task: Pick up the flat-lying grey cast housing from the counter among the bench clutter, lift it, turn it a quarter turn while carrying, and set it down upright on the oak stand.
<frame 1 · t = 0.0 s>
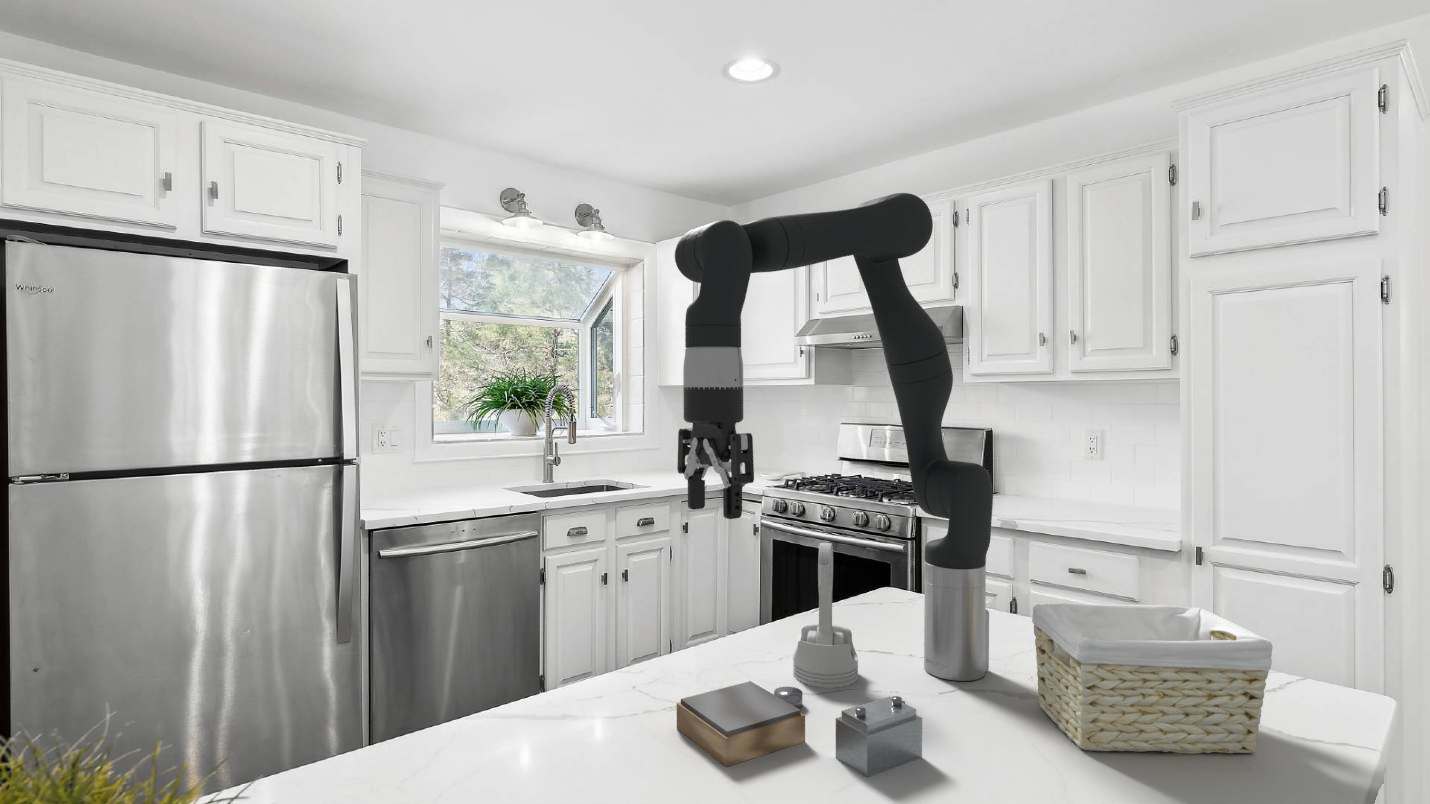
hand: (713, 513, 96), 29 cm above the countertop, tool pointing down, fingers open, 8 cm apart
storage basket: (1142, 732, 100), on the countertop
bar: (879, 721, 104), on the countertop
stand: (739, 735, 99), on the countertop
dark grey domed cap: (788, 706, 108), on the countertop
engine component: (825, 675, 120), on the countertop
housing: (878, 758, 93), on the countertop
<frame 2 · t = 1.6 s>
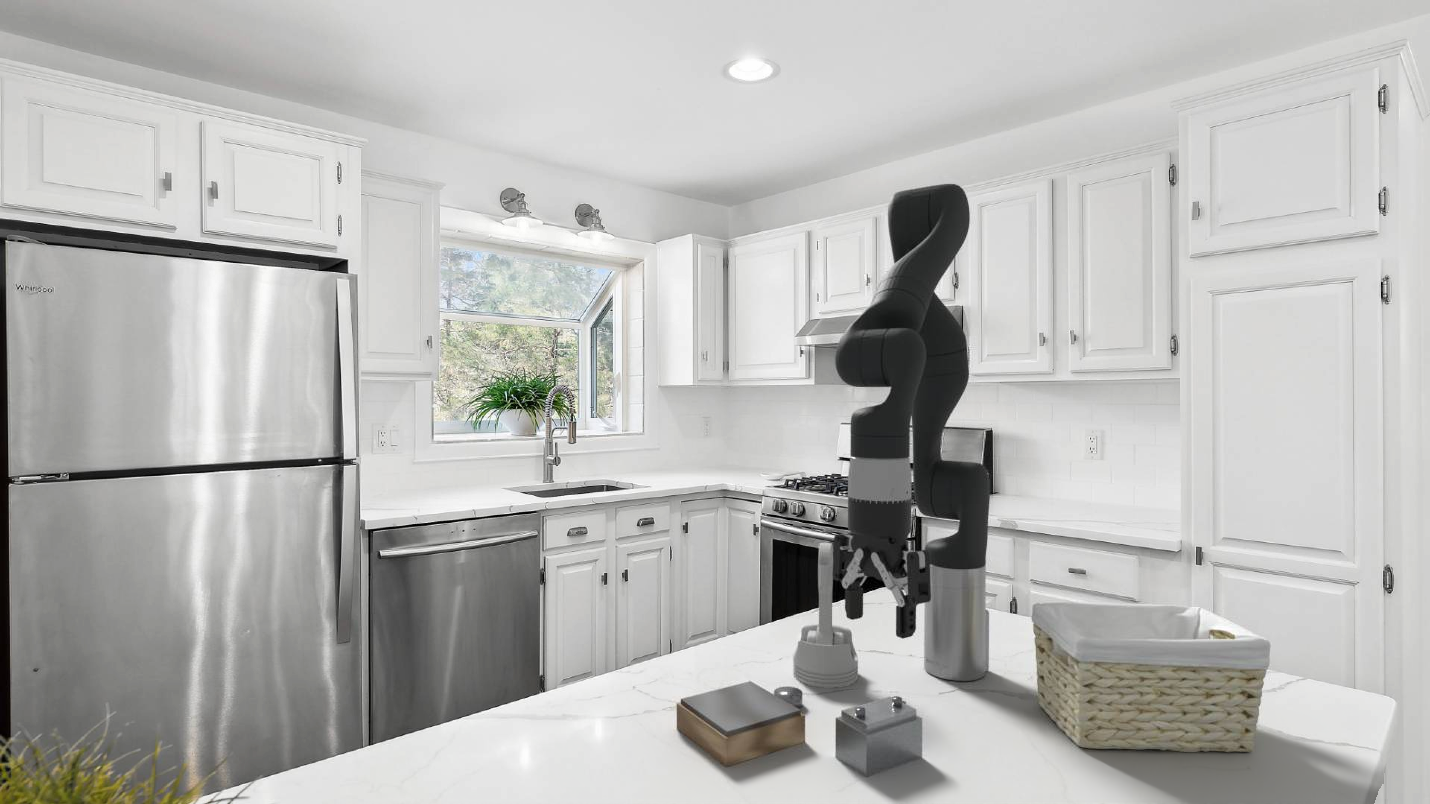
hand: (878, 627, 93), 16 cm above the countertop, tool pointing down, fingers open, 8 cm apart
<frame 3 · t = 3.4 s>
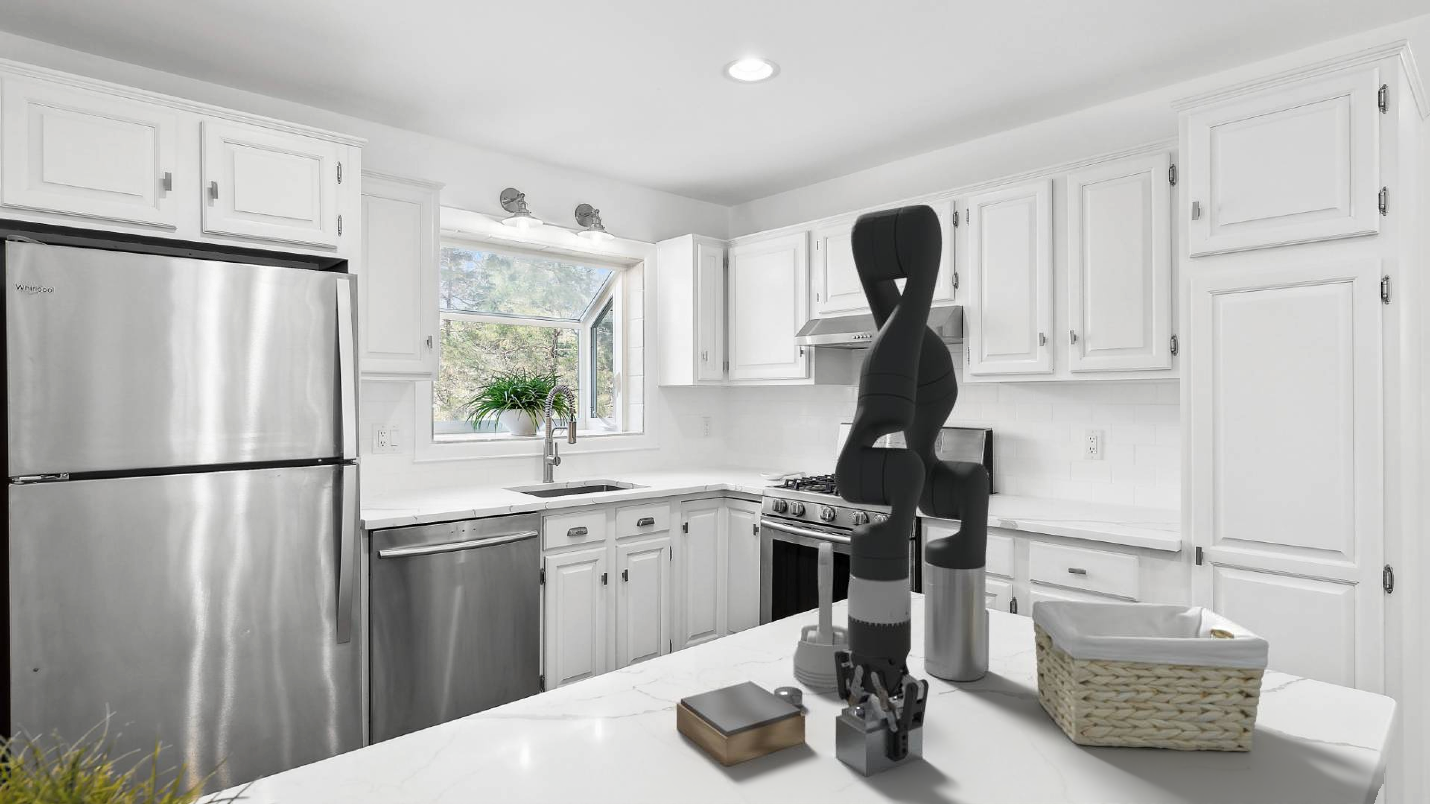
hand: (878, 748, 93), 1 cm above the countertop, tool pointing down, fingers closed on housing, 5 cm apart
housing: (879, 757, 93), on the countertop, touching gripper
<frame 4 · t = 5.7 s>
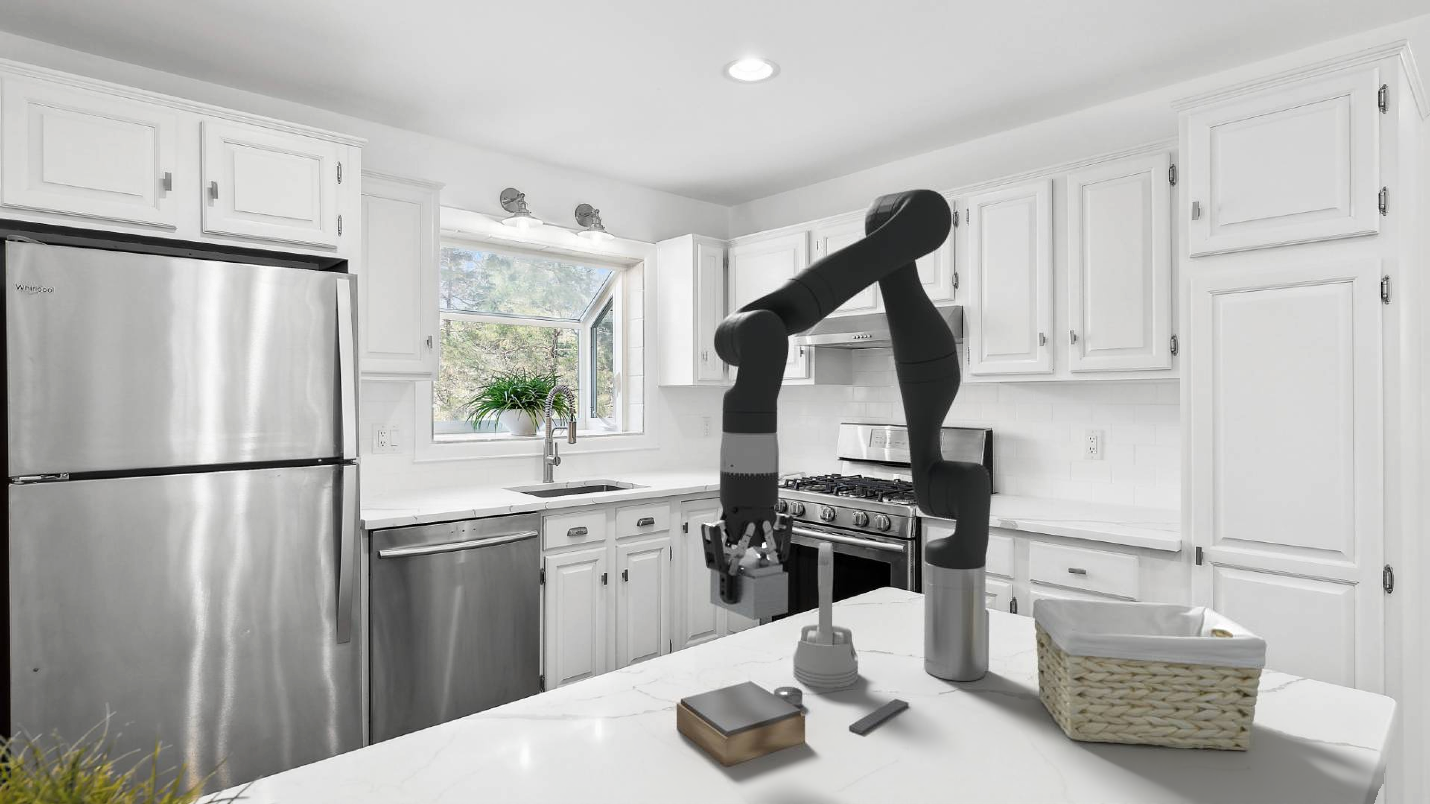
hand: (748, 598, 98), 18 cm above the countertop, tool pointing down, fingers closed on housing, 5 cm apart
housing: (748, 607, 98), point 17 cm above the countertop, touching gripper
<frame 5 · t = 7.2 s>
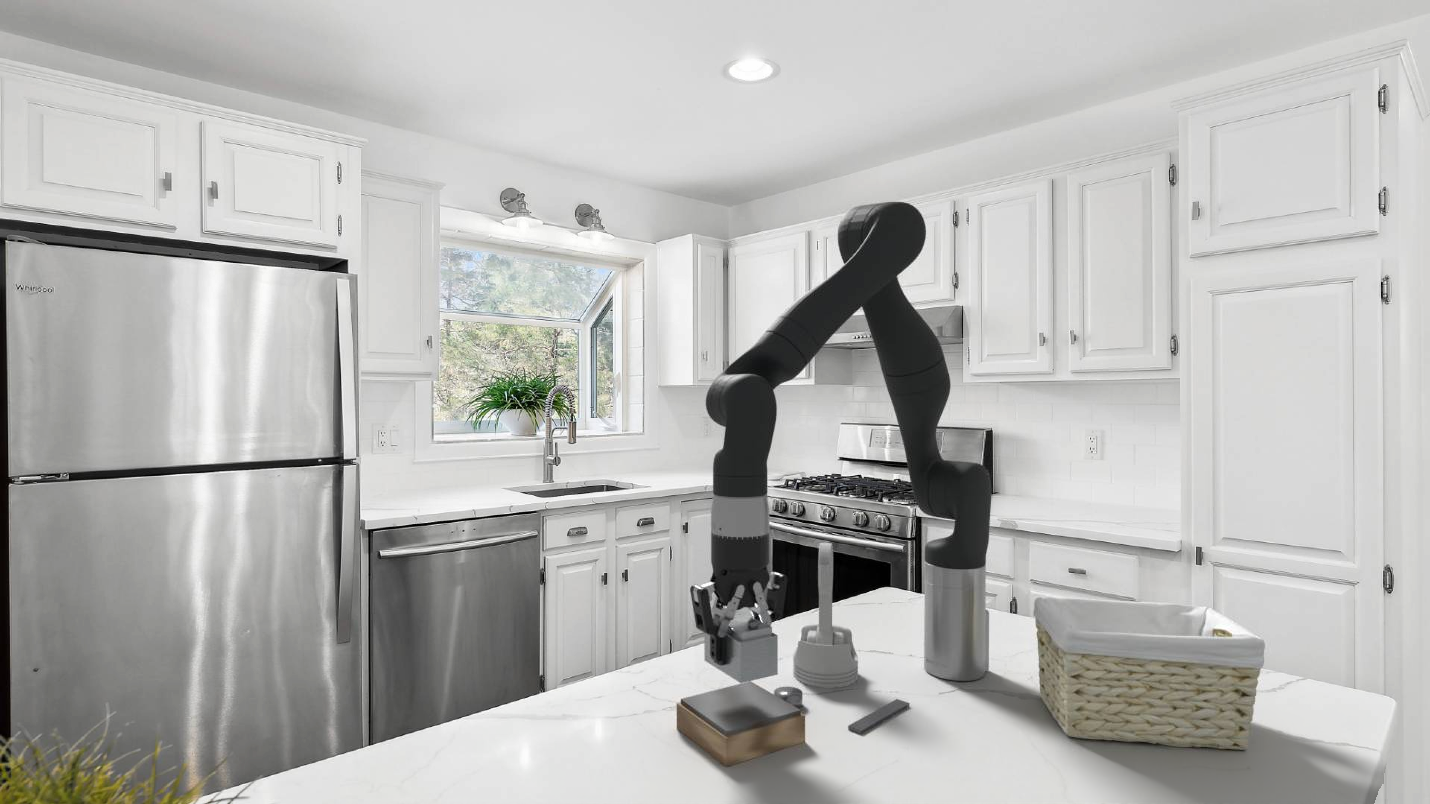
hand: (740, 658, 99), 10 cm above the countertop, tool pointing down, fingers closed on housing, 5 cm apart
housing: (740, 667, 99), point 9 cm above the countertop, touching gripper
when the fingers open (6 cm above the countertop, at t = 8.4 s): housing drops 1 cm, resting on stand.
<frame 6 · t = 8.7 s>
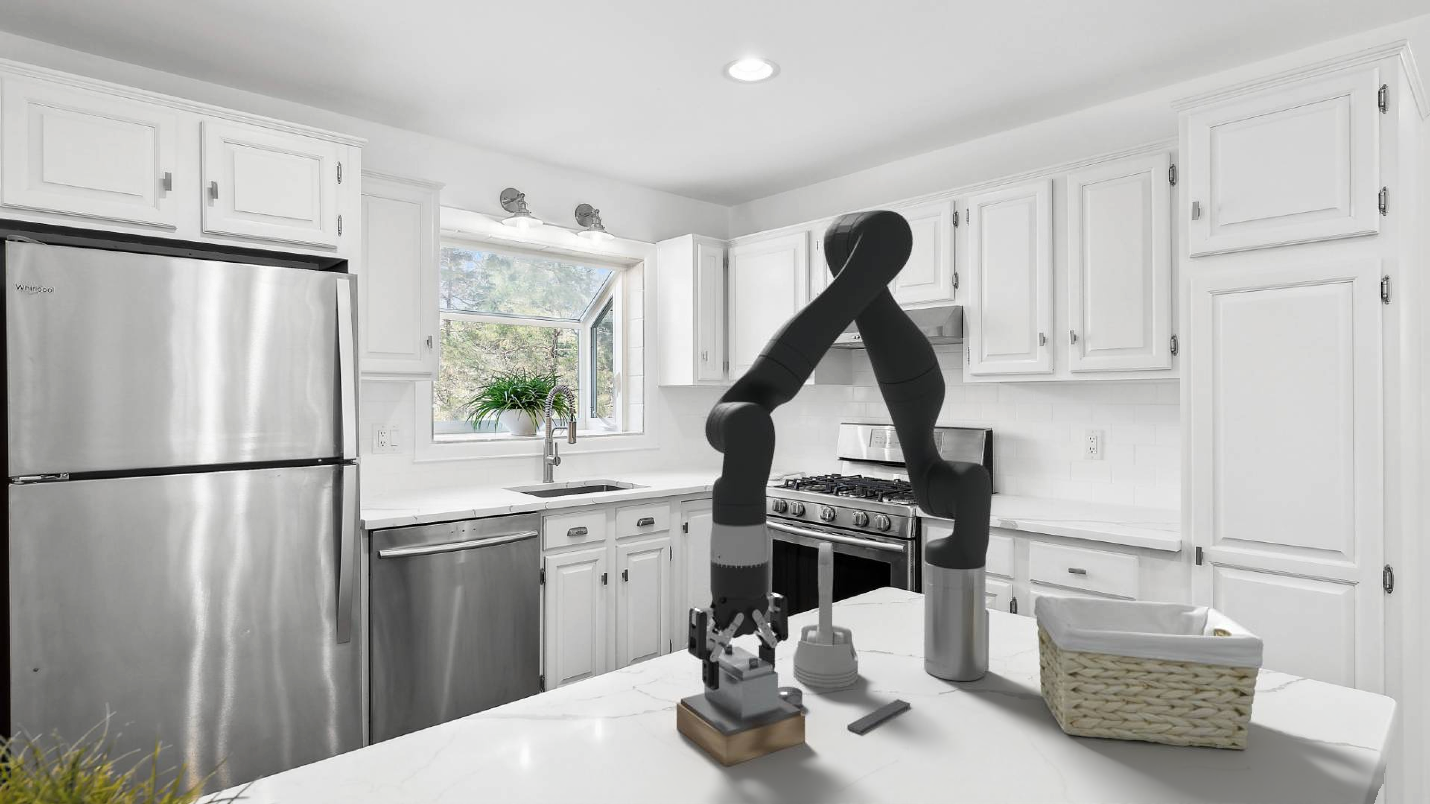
hand: (739, 681, 99), 7 cm above the countertop, tool pointing down, fingers open, 8 cm apart
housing: (740, 704, 99), point 4 cm above the countertop, touching stand
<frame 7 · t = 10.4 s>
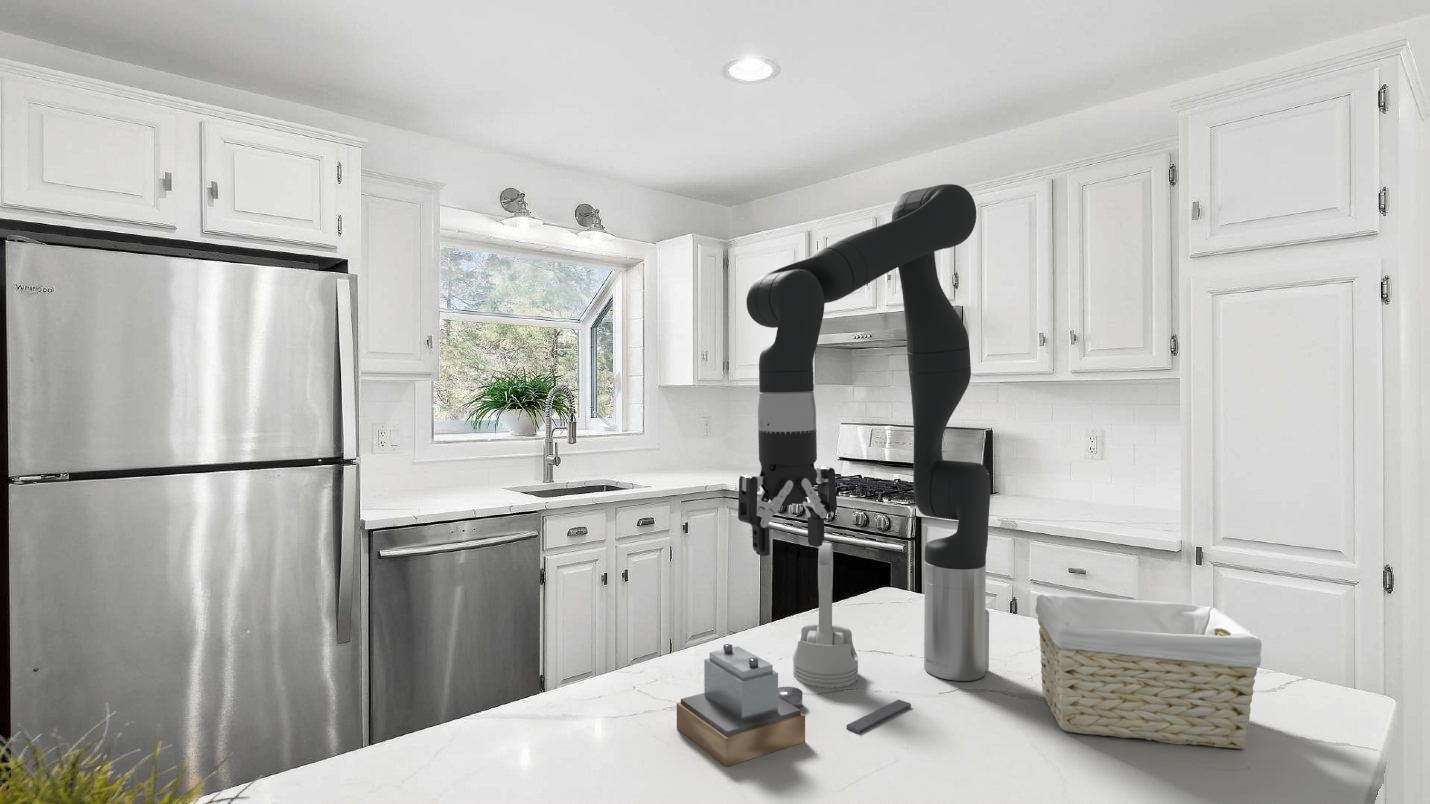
hand: (789, 550, 100), 24 cm above the countertop, tool pointing down, fingers open, 8 cm apart
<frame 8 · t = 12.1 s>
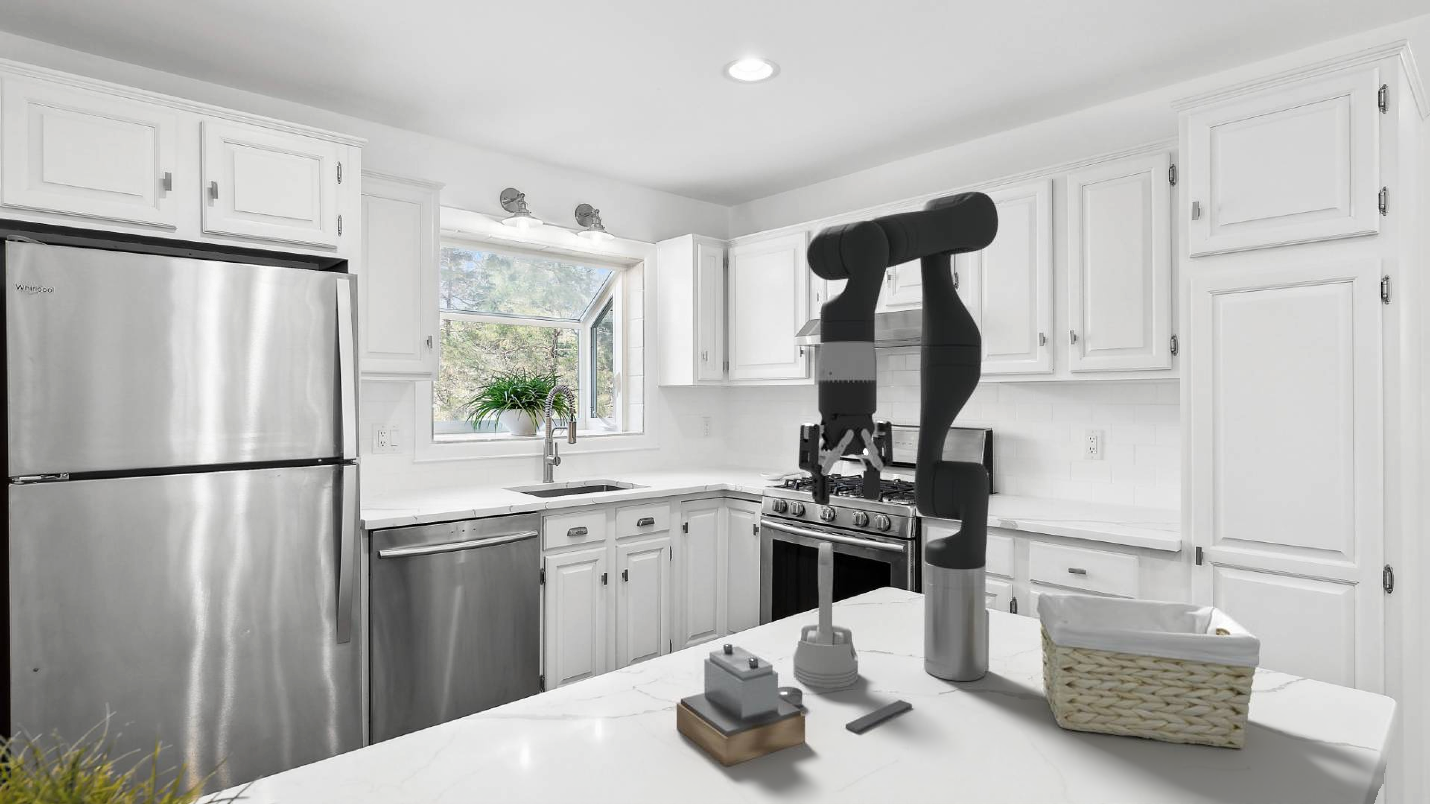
hand: (847, 501, 100), 30 cm above the countertop, tool pointing down, fingers open, 8 cm apart
at the end: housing inside the target area on the stand (0.1 cm from its centre), point 4.0 cm above the stand's base; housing tilted 0°; the gripper is holding nothing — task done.
